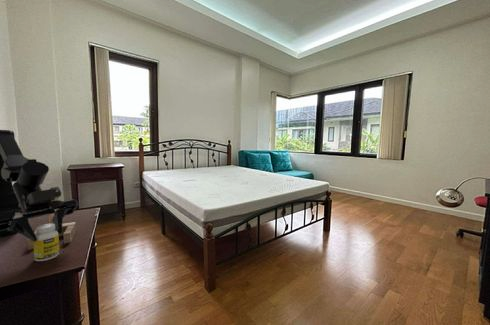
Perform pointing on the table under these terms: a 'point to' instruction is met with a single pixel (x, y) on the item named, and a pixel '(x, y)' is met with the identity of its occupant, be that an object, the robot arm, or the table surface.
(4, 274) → the table surface
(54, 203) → the grandmother figurine
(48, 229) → the supplement bottle
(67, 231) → the notched board
